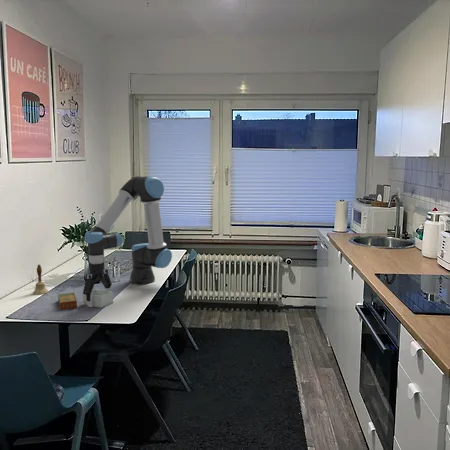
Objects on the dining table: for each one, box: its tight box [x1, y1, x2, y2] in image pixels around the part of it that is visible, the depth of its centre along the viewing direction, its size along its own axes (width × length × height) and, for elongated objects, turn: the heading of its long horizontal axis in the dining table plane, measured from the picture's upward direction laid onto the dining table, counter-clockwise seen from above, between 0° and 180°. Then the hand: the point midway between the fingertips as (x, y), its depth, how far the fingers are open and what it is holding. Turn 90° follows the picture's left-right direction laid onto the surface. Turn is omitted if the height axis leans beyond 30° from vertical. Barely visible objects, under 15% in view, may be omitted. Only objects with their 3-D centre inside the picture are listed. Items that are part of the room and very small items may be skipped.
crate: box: [82, 288, 114, 309], centre depth 236 cm, size 9×12×6 cm
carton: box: [57, 292, 78, 311], centre depth 235 cm, size 8×16×4 cm, turn 23°
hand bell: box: [32, 264, 49, 295], centre depth 255 cm, size 8×8×16 cm
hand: (98, 303), depth 236 cm, fingers open, 12 cm apart
